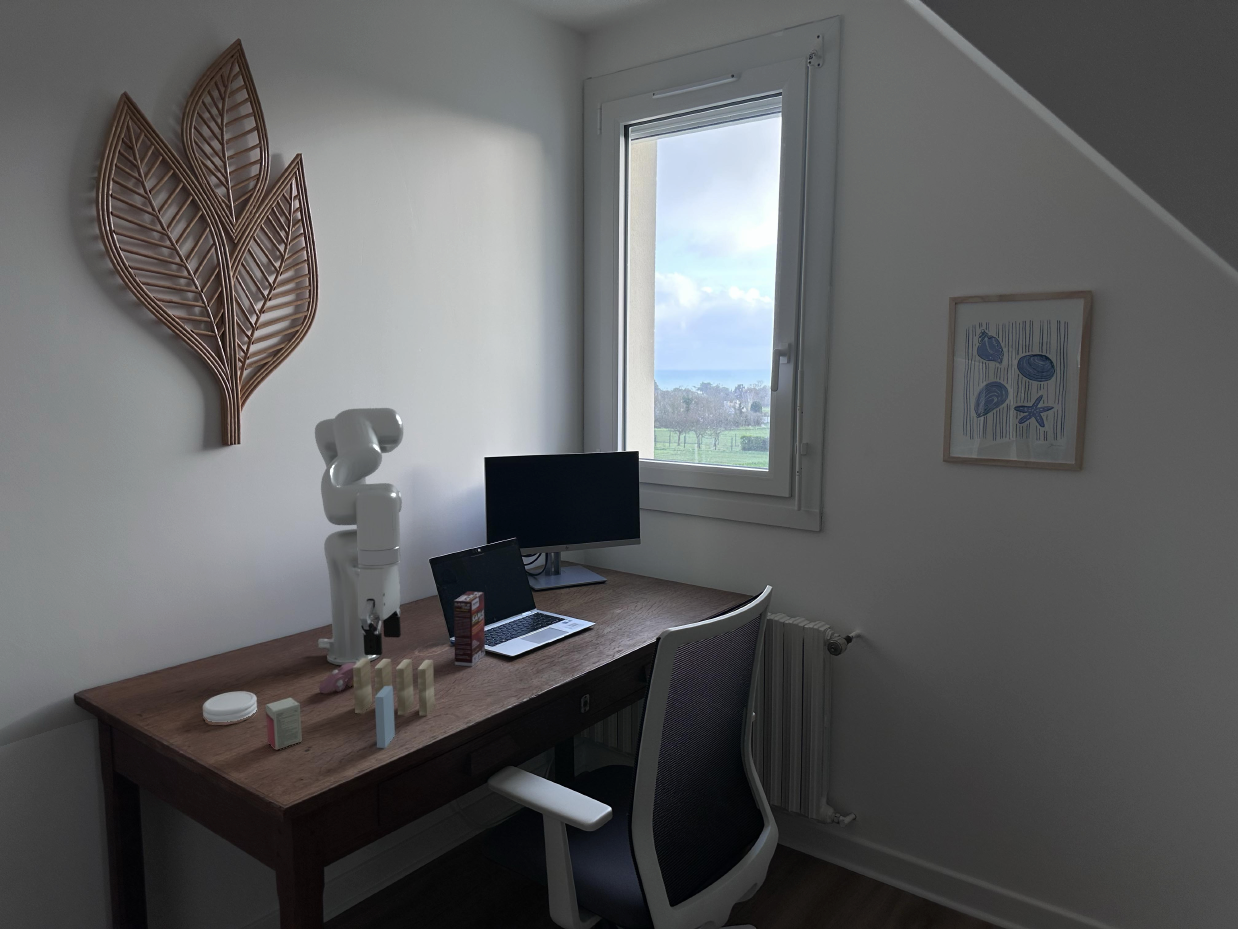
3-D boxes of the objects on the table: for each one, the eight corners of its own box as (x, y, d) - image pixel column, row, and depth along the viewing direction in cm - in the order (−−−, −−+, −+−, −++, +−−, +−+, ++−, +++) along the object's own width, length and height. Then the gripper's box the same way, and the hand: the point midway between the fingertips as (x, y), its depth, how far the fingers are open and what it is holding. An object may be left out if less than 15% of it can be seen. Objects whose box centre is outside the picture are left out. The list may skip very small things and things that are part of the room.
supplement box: (473, 667, 191) (471, 602, 189) (454, 665, 192) (452, 600, 190) (486, 654, 199) (484, 591, 197) (468, 652, 200) (466, 590, 198)
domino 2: (376, 714, 165) (374, 667, 164) (385, 704, 170) (383, 658, 169) (384, 714, 165) (382, 668, 164) (392, 704, 170) (390, 659, 169)
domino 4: (419, 716, 165) (417, 669, 163) (427, 705, 170) (425, 659, 168) (427, 716, 165) (425, 669, 163) (434, 705, 170) (433, 660, 168)
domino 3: (397, 715, 165) (395, 668, 164) (406, 705, 170) (404, 659, 169) (405, 715, 165) (403, 668, 164) (413, 705, 170) (411, 659, 169)
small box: (293, 735, 156) (291, 696, 155) (302, 743, 153) (300, 703, 152) (266, 743, 153) (264, 704, 152) (275, 751, 150) (272, 711, 149)
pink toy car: (328, 703, 174) (336, 678, 172) (315, 690, 176) (323, 666, 174) (364, 688, 183) (373, 664, 180) (351, 675, 185) (360, 652, 182)
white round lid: (253, 723, 162) (252, 707, 161) (198, 730, 159) (197, 713, 159) (260, 703, 171) (259, 688, 171) (208, 709, 169) (207, 693, 168)
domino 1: (355, 714, 166) (352, 667, 164) (364, 703, 171) (362, 658, 169) (362, 714, 166) (360, 667, 164) (372, 704, 171) (370, 658, 169)
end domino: (377, 747, 151) (374, 696, 150) (386, 735, 156) (384, 686, 155) (385, 748, 151) (383, 697, 150) (394, 735, 156) (392, 686, 155)
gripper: (376, 546, 158) (380, 630, 160) (340, 567, 141) (344, 661, 143) (414, 546, 158) (417, 631, 160) (382, 568, 141) (386, 662, 143)
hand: (383, 645), depth 151 cm, fingers open, 9 cm apart
